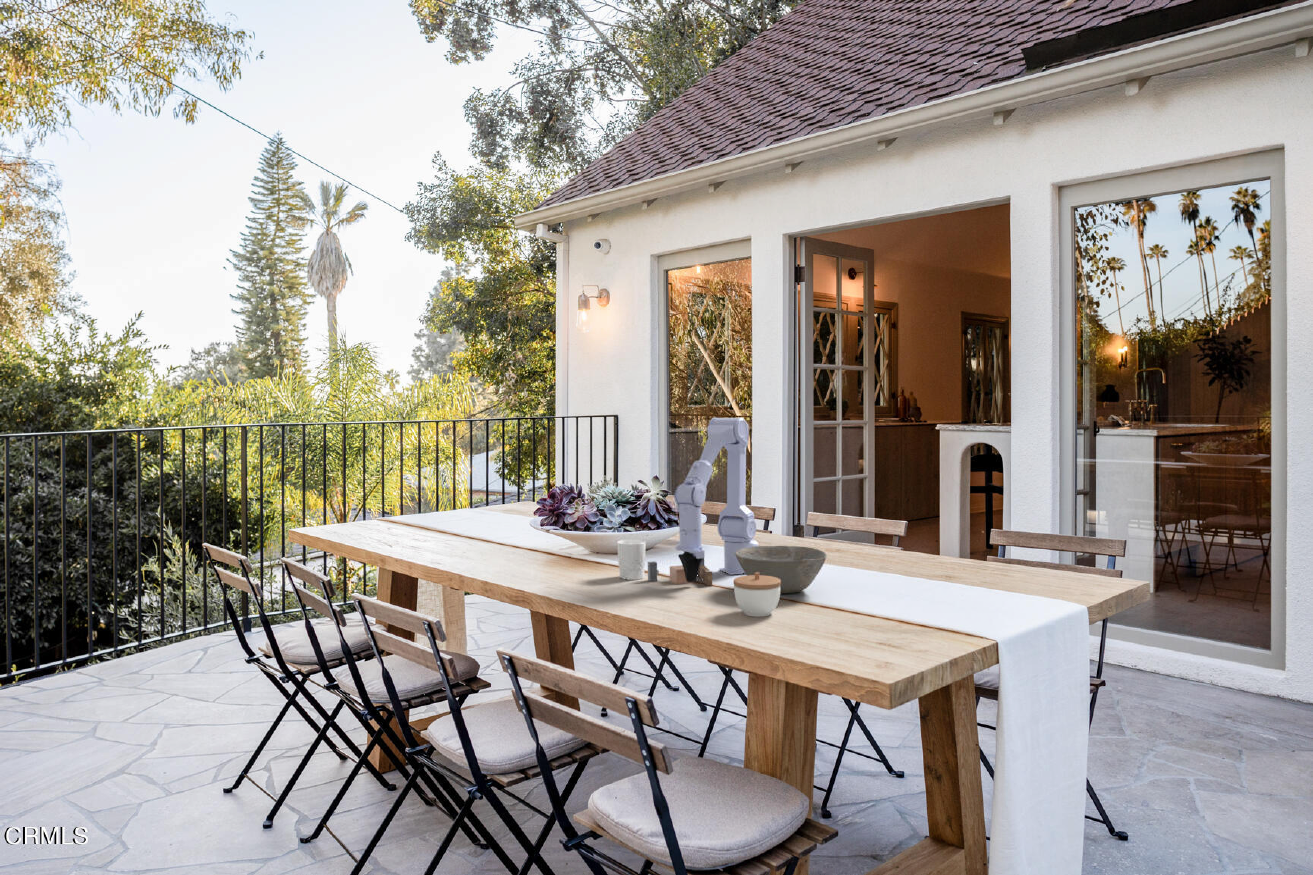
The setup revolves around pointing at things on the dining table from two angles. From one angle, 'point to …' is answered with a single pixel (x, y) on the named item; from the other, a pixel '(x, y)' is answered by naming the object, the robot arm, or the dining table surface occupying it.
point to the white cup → (631, 559)
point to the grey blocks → (654, 572)
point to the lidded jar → (757, 594)
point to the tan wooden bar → (706, 575)
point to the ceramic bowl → (783, 564)
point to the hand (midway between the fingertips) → (691, 581)
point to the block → (678, 575)
